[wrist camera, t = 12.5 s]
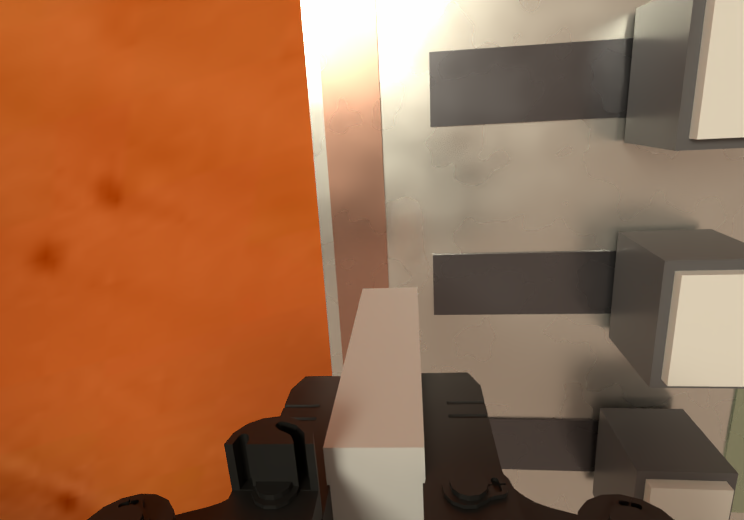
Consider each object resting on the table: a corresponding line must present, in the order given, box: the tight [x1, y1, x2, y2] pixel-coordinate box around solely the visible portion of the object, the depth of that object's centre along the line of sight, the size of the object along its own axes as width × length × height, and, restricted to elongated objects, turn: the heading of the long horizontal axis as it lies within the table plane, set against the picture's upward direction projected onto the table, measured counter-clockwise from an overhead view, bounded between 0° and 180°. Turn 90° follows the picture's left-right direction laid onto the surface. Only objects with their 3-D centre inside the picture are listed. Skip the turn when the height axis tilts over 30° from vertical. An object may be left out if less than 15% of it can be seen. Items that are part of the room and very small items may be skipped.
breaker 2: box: [609, 229, 744, 389], centre depth 16 cm, size 3×4×4 cm
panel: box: [300, 0, 744, 520], centre depth 19 cm, size 18×22×2 cm
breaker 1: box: [624, 0, 744, 151], centre depth 14 cm, size 3×4×4 cm
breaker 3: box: [592, 408, 738, 520], centre depth 18 cm, size 3×4×4 cm
